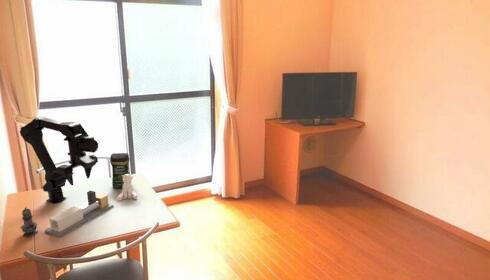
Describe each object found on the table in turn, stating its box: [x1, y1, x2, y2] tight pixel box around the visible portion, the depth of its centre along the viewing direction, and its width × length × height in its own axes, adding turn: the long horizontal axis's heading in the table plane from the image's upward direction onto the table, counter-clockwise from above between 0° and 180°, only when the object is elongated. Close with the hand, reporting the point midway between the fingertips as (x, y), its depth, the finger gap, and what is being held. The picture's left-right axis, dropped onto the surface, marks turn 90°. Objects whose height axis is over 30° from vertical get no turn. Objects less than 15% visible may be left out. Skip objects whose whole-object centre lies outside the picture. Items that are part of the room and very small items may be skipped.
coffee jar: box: [109, 152, 131, 189], centre depth 186 cm, size 10×8×19 cm
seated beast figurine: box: [116, 173, 138, 201], centre depth 175 cm, size 10×9×12 cm
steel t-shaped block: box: [78, 190, 101, 215], centre depth 157 cm, size 3×17×8 cm, turn 156°
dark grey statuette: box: [20, 206, 39, 238], centre depth 141 cm, size 6×6×12 cm
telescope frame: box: [44, 192, 114, 238], centre depth 154 cm, size 9×29×6 cm, turn 156°
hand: (80, 181), depth 164 cm, fingers open, 9 cm apart
